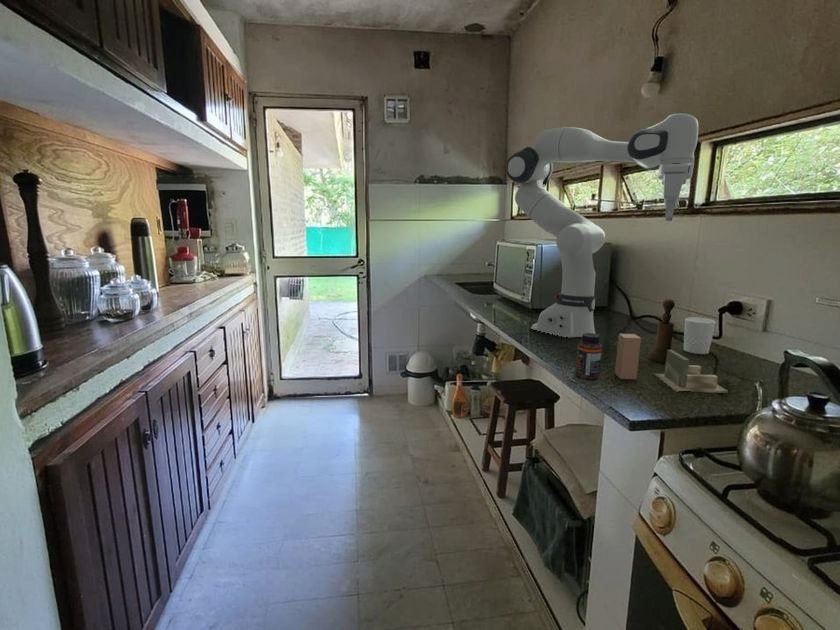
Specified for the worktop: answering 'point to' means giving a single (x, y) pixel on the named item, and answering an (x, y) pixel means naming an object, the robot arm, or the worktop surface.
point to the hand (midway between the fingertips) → (668, 219)
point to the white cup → (698, 335)
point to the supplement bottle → (589, 356)
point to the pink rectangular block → (627, 356)
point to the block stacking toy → (687, 376)
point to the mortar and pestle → (663, 334)
